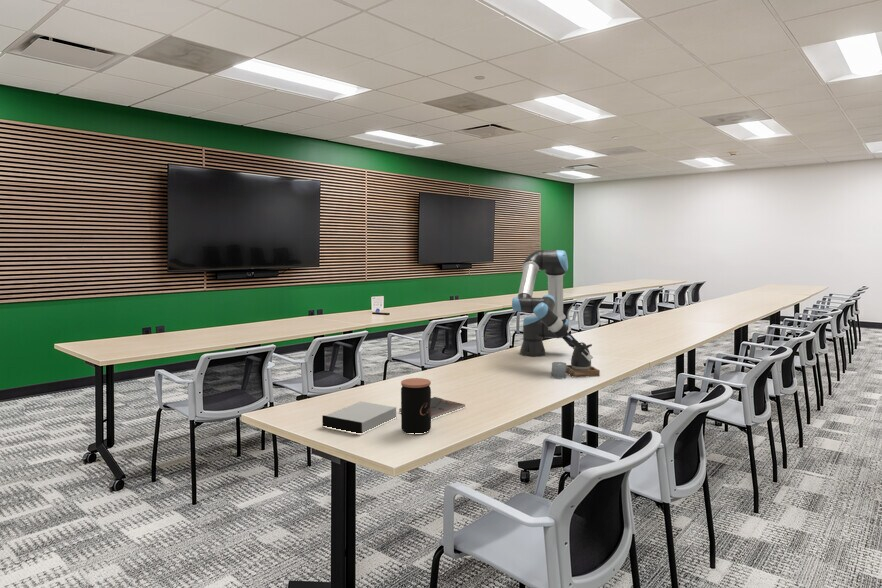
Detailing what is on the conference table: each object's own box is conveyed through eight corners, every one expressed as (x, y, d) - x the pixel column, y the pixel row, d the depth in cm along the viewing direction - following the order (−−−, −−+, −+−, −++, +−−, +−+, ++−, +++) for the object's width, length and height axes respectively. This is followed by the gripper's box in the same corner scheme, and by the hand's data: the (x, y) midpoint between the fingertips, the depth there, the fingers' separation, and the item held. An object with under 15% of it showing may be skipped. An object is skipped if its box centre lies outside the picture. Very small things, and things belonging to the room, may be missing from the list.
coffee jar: (423, 437, 193) (423, 386, 191) (396, 433, 197) (395, 383, 195) (435, 427, 203) (435, 379, 201) (408, 424, 207) (408, 376, 205)
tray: (563, 370, 294) (563, 365, 293) (588, 370, 295) (588, 364, 295) (572, 377, 280) (573, 371, 280) (599, 376, 282) (599, 370, 281)
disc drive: (322, 429, 203) (322, 415, 203) (360, 412, 223) (360, 400, 223) (360, 437, 195) (360, 423, 194) (396, 419, 214) (396, 406, 214)
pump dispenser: (593, 374, 282) (594, 344, 280) (572, 373, 283) (573, 344, 281) (588, 368, 292) (589, 340, 290) (568, 368, 293) (569, 340, 291)
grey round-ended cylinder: (549, 375, 283) (549, 362, 282) (562, 375, 284) (563, 361, 283) (554, 378, 276) (555, 365, 275) (568, 378, 277) (568, 364, 277)
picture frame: (434, 402, 238) (399, 414, 222) (434, 396, 238) (399, 408, 221) (465, 409, 227) (430, 422, 211) (465, 403, 227) (430, 416, 211)
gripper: (545, 329, 295) (573, 357, 299) (560, 336, 273) (590, 367, 276) (555, 319, 295) (583, 347, 299) (571, 325, 273) (601, 356, 276)
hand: (586, 357), depth 287 cm, fingers open, 10 cm apart
